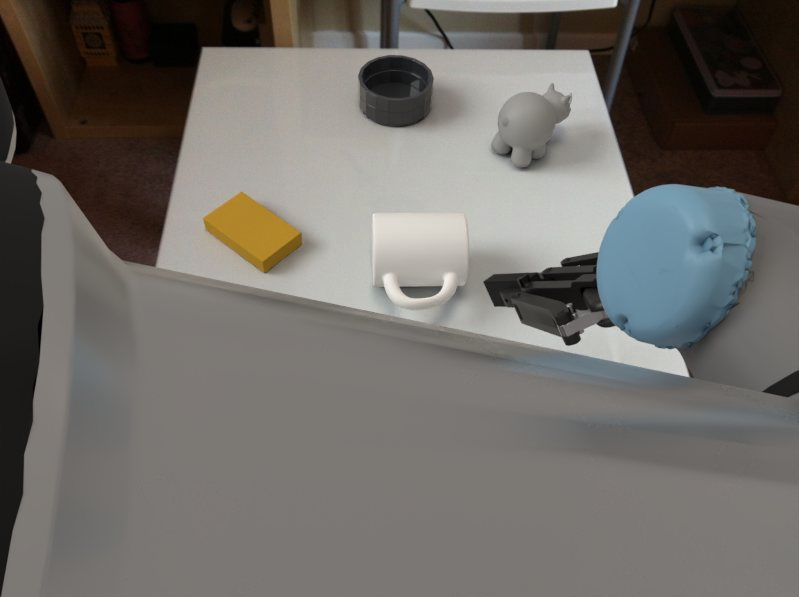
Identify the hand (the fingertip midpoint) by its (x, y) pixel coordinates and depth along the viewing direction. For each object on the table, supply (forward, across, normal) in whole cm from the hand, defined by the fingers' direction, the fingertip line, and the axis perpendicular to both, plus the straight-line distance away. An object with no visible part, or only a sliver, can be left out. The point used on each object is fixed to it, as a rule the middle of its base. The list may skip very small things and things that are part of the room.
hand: (494, 290), depth 70 cm
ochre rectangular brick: (+26, -10, +13) cm, 31 cm away
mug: (+14, 0, 0) cm, 14 cm away
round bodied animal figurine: (+21, +28, +7) cm, 35 cm away
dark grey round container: (+33, +18, +19) cm, 43 cm away
